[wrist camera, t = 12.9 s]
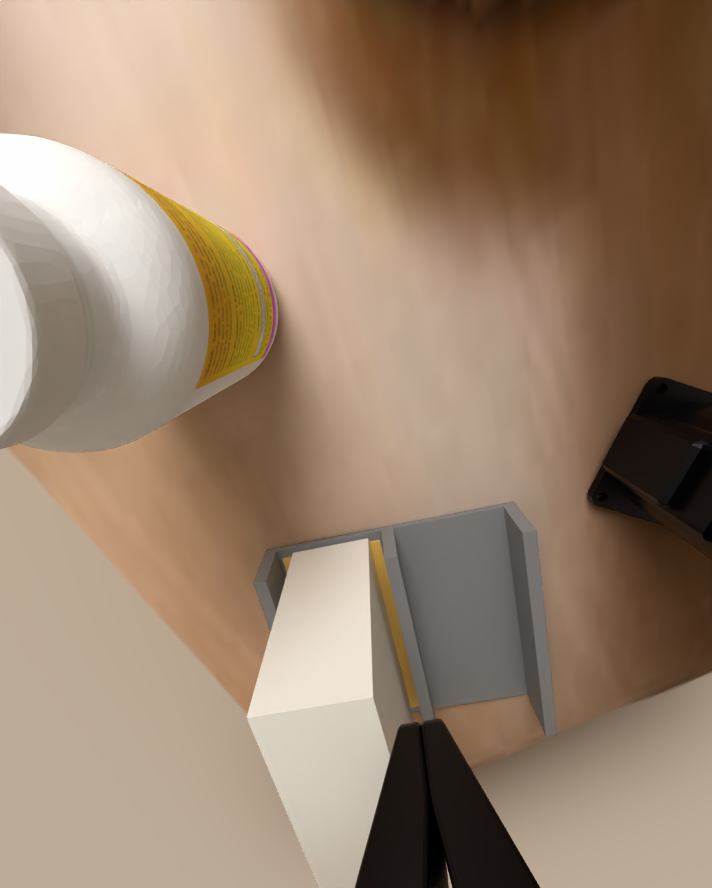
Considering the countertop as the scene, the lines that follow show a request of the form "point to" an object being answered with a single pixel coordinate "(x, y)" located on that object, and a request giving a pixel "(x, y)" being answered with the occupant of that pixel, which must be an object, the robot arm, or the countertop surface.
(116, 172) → the supplement bottle
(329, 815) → the white rectangular box
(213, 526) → the countertop surface
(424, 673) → the slot rack
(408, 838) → the robot arm
